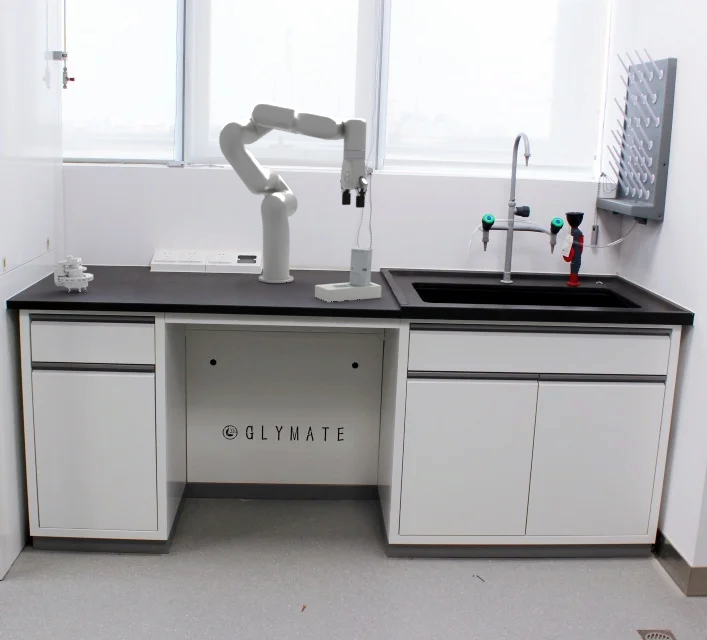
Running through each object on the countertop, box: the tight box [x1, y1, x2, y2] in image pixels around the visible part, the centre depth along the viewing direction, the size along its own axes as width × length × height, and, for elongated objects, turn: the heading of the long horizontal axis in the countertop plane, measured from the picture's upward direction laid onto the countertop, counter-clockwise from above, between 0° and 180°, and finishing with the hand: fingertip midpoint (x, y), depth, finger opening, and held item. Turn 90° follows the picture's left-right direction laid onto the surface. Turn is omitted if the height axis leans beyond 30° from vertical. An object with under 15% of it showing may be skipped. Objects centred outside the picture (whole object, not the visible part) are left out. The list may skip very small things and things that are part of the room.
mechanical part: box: [53, 254, 94, 293], centre depth 258 cm, size 11×12×12 cm
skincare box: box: [349, 246, 373, 286], centre depth 262 cm, size 6×4×12 cm
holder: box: [314, 281, 382, 303], centre depth 261 cm, size 9×20×4 cm, turn 119°
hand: (353, 206), depth 274 cm, fingers open, 9 cm apart
